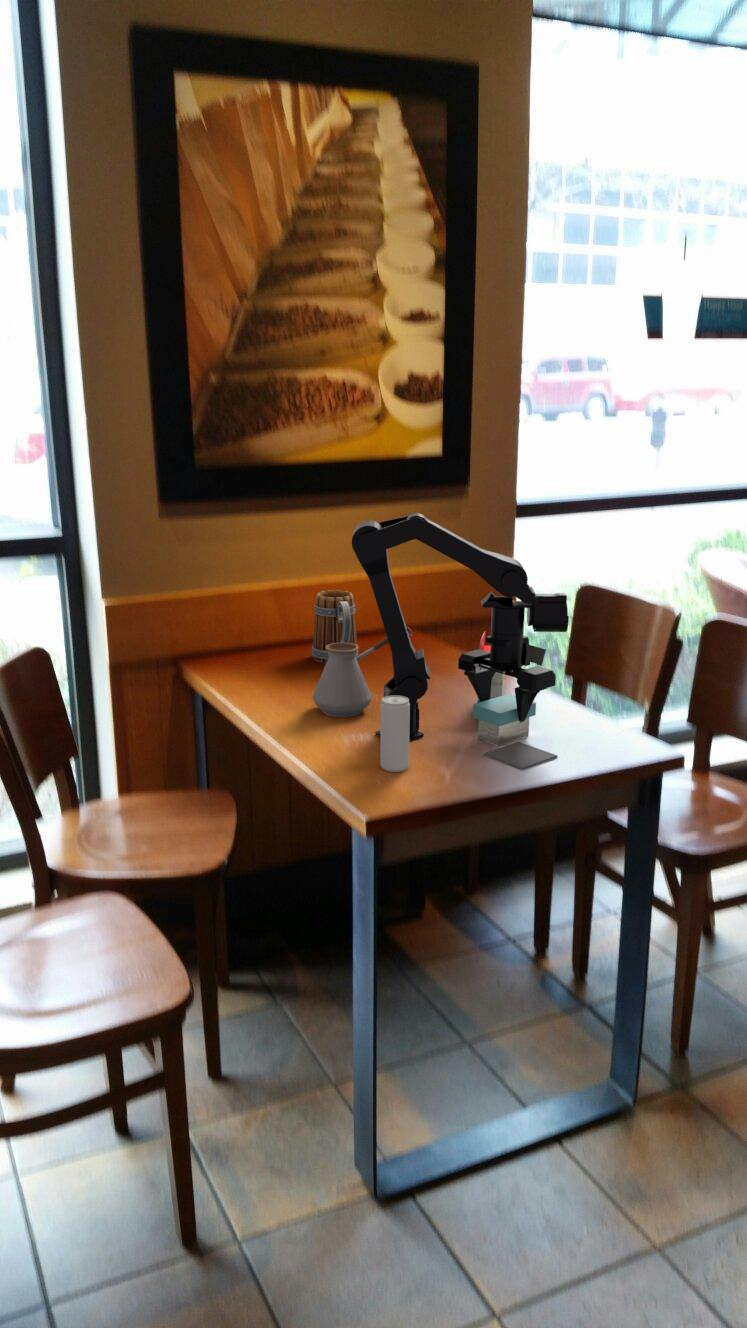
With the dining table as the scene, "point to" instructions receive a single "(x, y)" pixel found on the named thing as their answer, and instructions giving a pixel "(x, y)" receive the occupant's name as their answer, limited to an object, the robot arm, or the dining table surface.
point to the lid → (500, 710)
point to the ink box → (498, 678)
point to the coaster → (520, 755)
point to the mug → (333, 622)
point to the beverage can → (394, 733)
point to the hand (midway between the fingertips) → (503, 715)
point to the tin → (502, 731)
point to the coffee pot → (344, 681)
